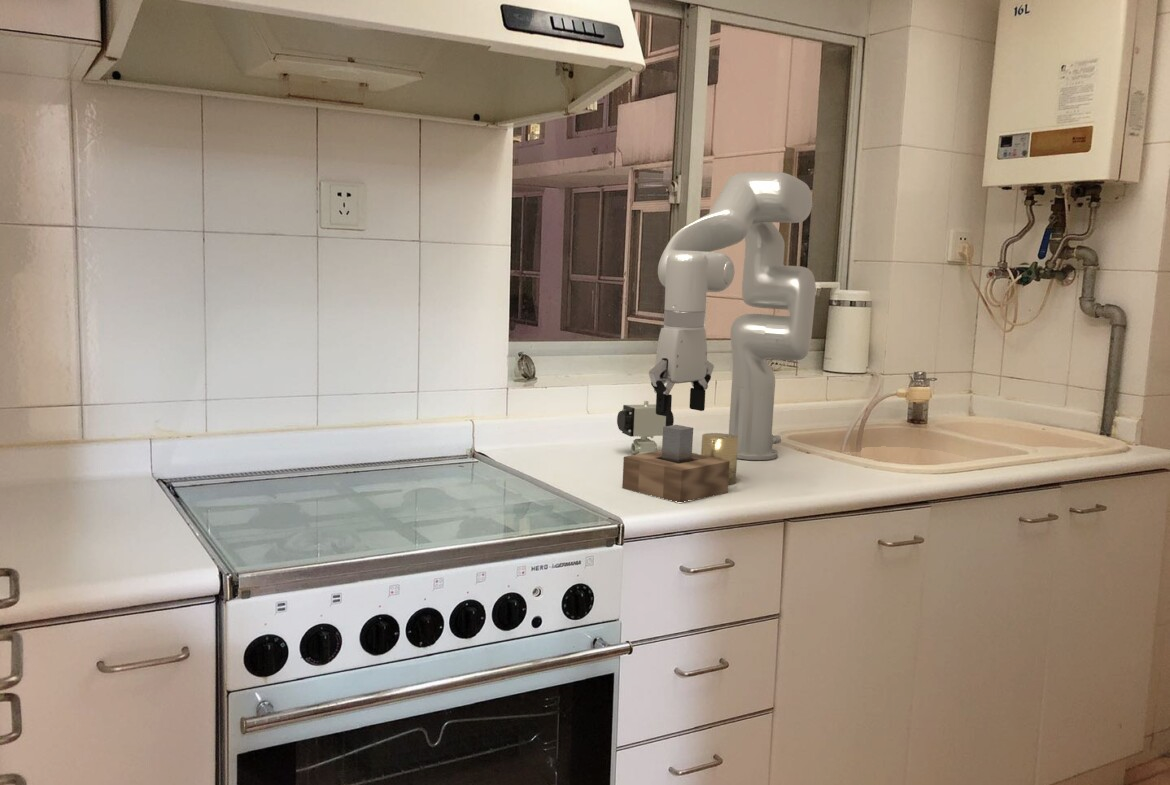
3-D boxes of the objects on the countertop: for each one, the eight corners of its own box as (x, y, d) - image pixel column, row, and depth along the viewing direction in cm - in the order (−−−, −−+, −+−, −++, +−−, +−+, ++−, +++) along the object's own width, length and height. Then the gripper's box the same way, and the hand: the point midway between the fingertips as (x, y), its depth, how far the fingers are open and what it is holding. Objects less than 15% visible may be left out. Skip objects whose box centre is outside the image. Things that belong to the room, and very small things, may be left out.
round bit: (714, 475, 198) (716, 431, 197) (742, 482, 193) (745, 437, 192) (692, 480, 193) (694, 435, 192) (721, 487, 188) (724, 440, 187)
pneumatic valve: (672, 456, 216) (675, 402, 214) (623, 458, 211) (626, 403, 210) (661, 451, 221) (664, 398, 219) (613, 453, 217) (615, 399, 215)
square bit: (672, 486, 187) (676, 424, 185) (689, 490, 184) (693, 427, 183) (659, 489, 184) (663, 426, 182) (676, 493, 181) (680, 430, 180)
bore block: (670, 478, 194) (672, 448, 193) (727, 492, 184) (729, 461, 183) (622, 488, 184) (623, 456, 183) (679, 503, 174) (681, 470, 173)
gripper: (698, 317, 188) (693, 405, 191) (637, 320, 176) (634, 414, 179) (729, 320, 183) (724, 410, 186) (669, 324, 171) (665, 420, 174)
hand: (680, 412), depth 182 cm, fingers open, 9 cm apart
